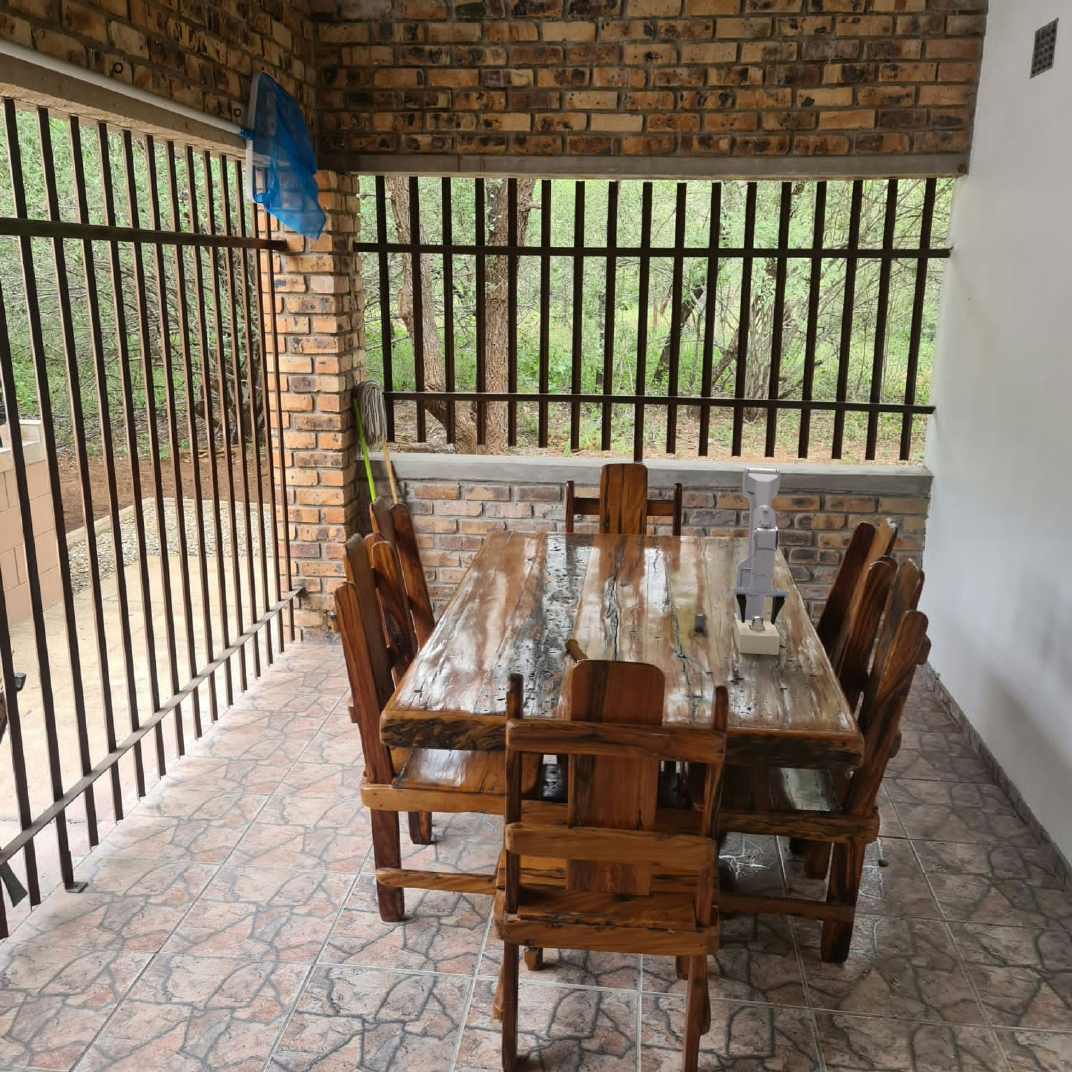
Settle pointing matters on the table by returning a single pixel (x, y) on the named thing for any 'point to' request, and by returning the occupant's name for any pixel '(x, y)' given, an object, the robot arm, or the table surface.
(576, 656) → the primitive tool
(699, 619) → the short pin
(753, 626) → the long pin
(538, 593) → the table surface
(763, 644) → the hole block
